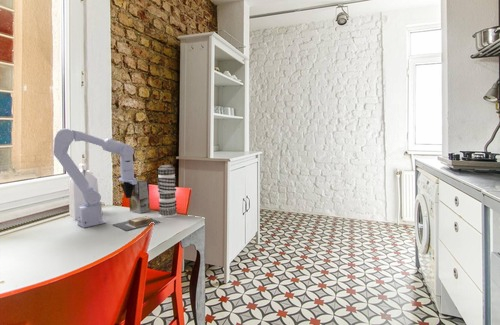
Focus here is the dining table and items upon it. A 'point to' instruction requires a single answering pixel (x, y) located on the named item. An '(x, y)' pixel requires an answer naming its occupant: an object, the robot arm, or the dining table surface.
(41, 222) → the dining table surface
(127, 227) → the charcoal mat
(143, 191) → the coffee box
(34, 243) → the dining table surface
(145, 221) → the walnut slab
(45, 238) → the dining table surface
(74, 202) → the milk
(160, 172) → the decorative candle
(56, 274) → the dining table surface
